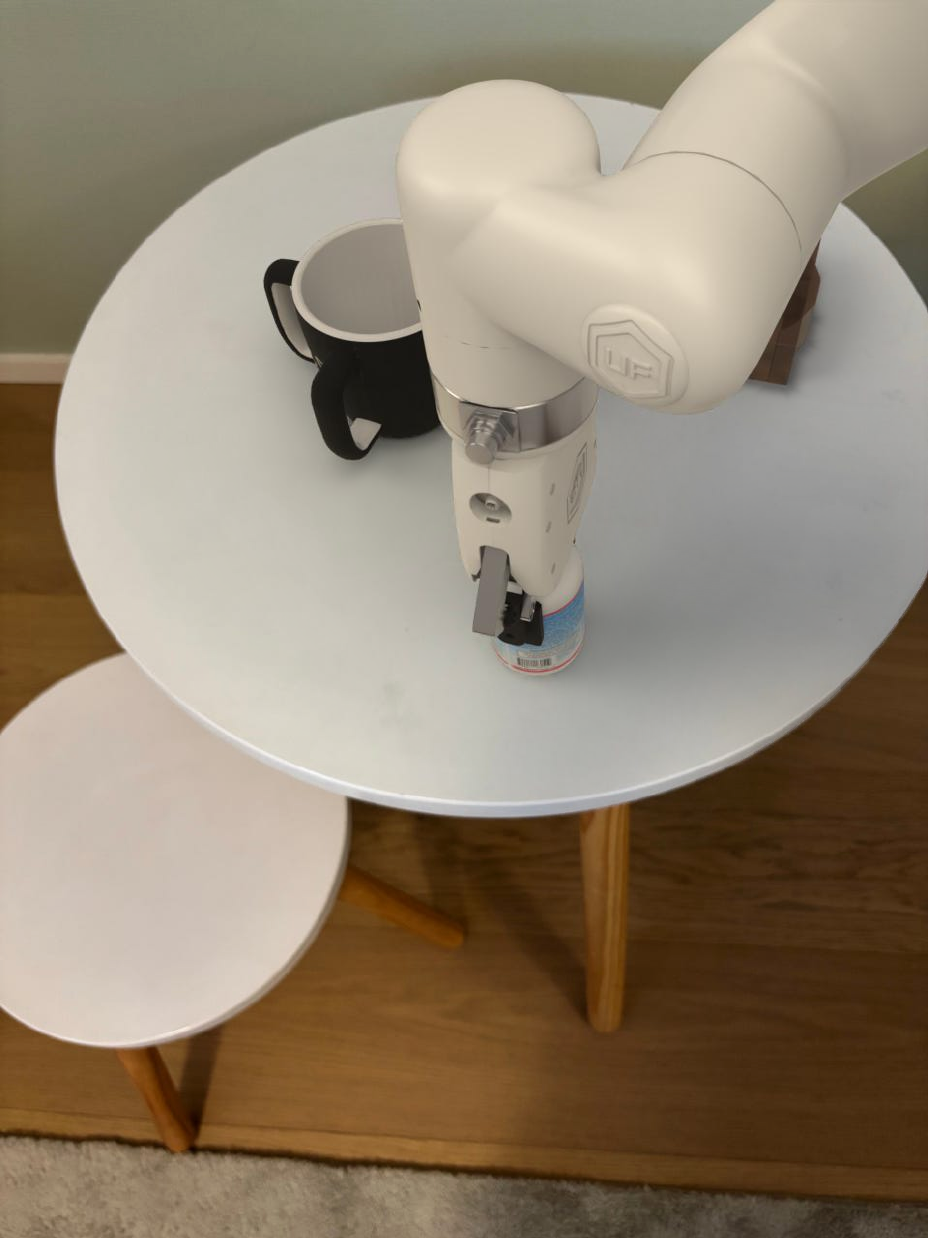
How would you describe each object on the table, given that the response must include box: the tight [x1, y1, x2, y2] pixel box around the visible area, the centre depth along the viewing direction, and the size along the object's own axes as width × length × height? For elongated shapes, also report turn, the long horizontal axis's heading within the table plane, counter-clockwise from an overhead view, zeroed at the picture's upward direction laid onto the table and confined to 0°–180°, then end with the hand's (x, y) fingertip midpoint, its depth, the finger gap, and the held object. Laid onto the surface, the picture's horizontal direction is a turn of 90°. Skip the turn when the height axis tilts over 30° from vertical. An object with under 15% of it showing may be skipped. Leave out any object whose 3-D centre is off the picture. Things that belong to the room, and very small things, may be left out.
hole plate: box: [747, 237, 822, 386], centre depth 80 cm, size 13×13×4 cm
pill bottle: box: [490, 543, 586, 677], centre depth 62 cm, size 6×6×11 cm
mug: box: [262, 217, 442, 461], centre depth 75 cm, size 16×16×12 cm
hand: (533, 587), depth 62 cm, fingers closed on pill bottle, 6 cm apart
